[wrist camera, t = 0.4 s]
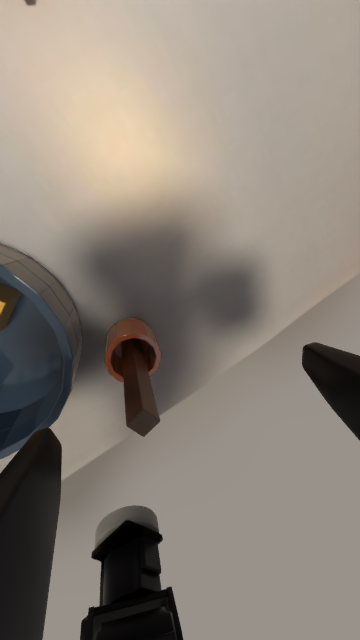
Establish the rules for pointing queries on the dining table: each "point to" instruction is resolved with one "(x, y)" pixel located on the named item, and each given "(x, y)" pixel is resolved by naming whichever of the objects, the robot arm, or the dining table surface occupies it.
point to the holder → (124, 332)
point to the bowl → (35, 351)
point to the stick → (138, 389)
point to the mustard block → (7, 303)
